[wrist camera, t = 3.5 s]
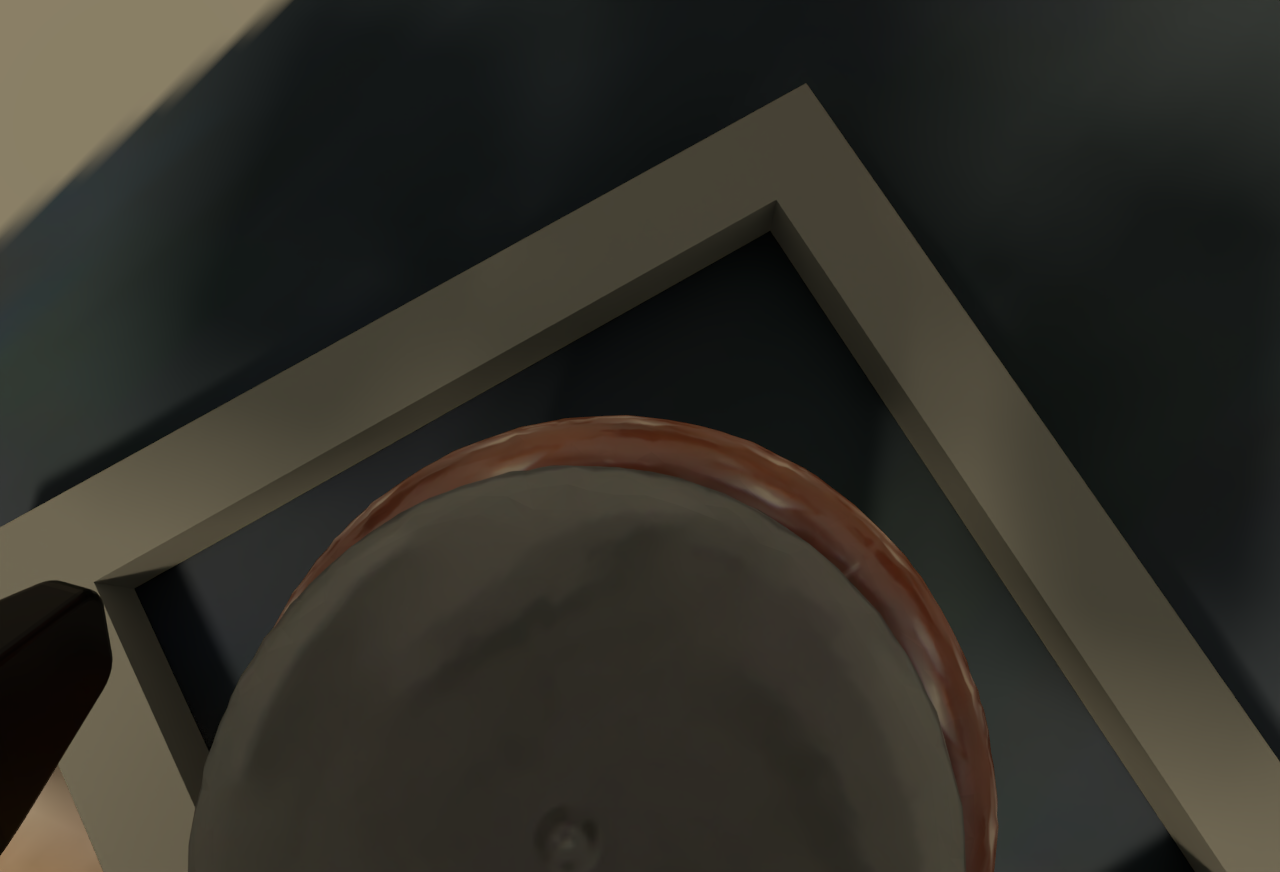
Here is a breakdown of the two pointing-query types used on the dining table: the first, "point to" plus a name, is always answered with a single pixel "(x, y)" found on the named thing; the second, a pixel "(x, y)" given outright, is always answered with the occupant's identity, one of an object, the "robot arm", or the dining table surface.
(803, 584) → the supplement bottle
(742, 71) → the dining table surface
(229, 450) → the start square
